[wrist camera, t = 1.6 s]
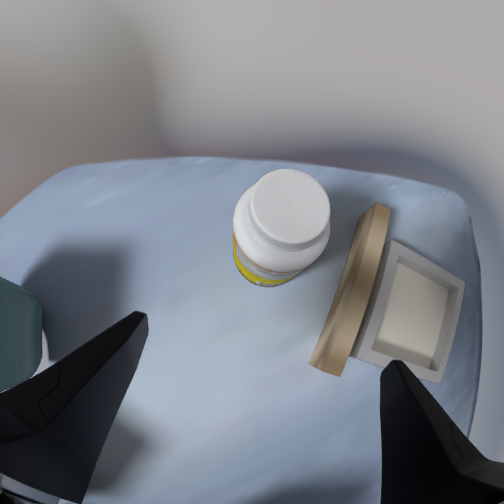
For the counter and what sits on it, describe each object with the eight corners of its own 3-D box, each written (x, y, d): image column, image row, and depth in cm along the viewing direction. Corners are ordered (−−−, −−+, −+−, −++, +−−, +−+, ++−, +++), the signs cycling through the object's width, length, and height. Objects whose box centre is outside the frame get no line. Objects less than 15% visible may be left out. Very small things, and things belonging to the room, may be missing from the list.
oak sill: (324, 369, 20) (339, 376, 17) (308, 364, 20) (321, 371, 17) (372, 223, 24) (391, 209, 21) (359, 217, 24) (376, 201, 21)
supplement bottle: (267, 210, 23) (289, 137, 14) (312, 256, 23) (367, 209, 13) (218, 253, 22) (208, 198, 12) (265, 302, 21) (293, 286, 12)
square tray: (428, 381, 20) (440, 383, 18) (346, 355, 21) (356, 357, 19) (453, 285, 23) (465, 282, 21) (381, 246, 23) (392, 239, 21)
